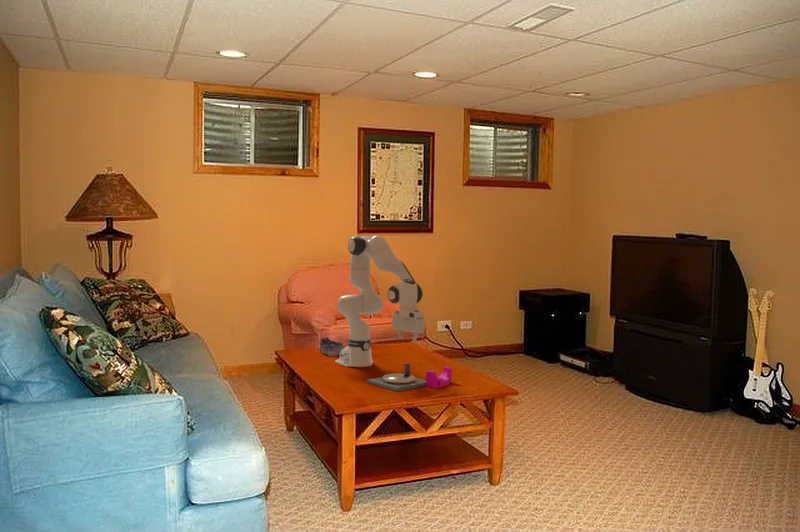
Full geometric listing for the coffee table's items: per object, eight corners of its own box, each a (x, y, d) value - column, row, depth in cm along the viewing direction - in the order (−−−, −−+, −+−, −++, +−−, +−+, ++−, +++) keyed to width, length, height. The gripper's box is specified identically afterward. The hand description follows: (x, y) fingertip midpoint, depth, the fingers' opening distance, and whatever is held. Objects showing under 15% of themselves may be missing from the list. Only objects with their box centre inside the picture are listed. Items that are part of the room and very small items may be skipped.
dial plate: (367, 382, 323) (367, 379, 323) (400, 376, 338) (400, 373, 338) (396, 391, 307) (397, 387, 307) (430, 384, 321) (430, 381, 321)
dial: (397, 385, 311) (397, 369, 310) (375, 379, 323) (376, 364, 322) (422, 380, 322) (422, 365, 321) (400, 374, 333) (400, 360, 333)
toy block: (435, 388, 315) (436, 373, 314) (426, 386, 319) (426, 371, 319) (455, 383, 326) (455, 368, 325) (445, 381, 330) (446, 366, 329)
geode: (312, 353, 396) (312, 337, 395) (328, 351, 403) (328, 335, 402) (330, 359, 380) (330, 342, 379) (347, 357, 387) (347, 340, 387)
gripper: (389, 310, 330) (388, 337, 330) (417, 315, 315) (417, 343, 315) (398, 309, 334) (398, 336, 335) (427, 314, 319) (426, 342, 320)
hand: (407, 340), depth 325 cm, fingers open, 8 cm apart
